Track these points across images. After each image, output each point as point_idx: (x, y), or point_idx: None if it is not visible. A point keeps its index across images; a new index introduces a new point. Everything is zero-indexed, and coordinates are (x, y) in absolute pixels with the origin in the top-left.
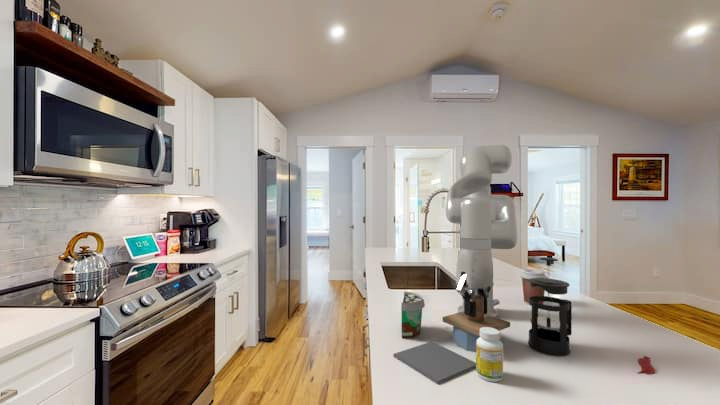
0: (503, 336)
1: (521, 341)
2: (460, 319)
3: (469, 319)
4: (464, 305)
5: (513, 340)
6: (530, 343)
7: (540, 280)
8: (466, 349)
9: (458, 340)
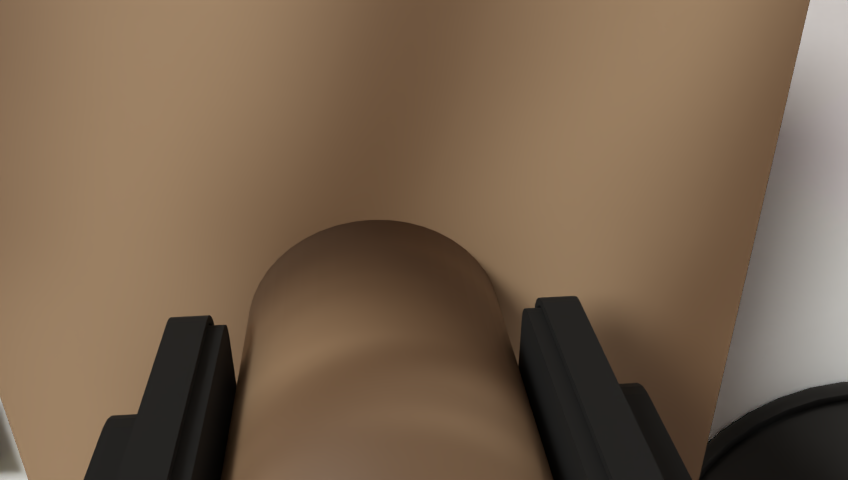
0: (784, 206)
1: (785, 350)
2: (134, 217)
3: (249, 318)
4: (132, 438)
5: (754, 307)
6: (730, 462)
7: None
8: None
9: None
